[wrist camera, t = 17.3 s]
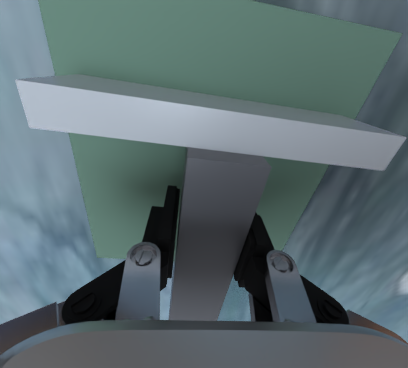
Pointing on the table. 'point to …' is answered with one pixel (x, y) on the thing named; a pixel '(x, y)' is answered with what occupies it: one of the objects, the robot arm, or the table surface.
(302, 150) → the scraper
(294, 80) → the mat
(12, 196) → the table surface
